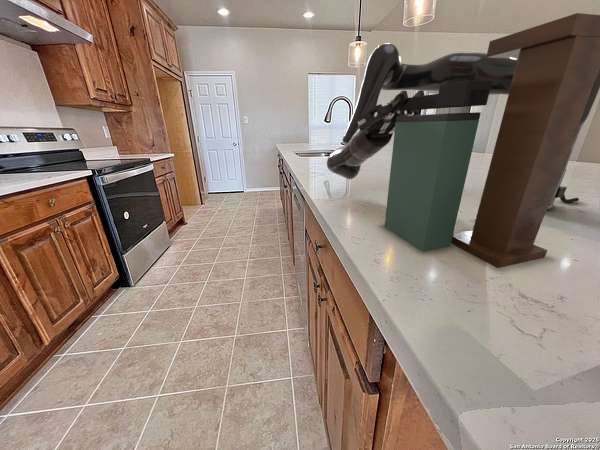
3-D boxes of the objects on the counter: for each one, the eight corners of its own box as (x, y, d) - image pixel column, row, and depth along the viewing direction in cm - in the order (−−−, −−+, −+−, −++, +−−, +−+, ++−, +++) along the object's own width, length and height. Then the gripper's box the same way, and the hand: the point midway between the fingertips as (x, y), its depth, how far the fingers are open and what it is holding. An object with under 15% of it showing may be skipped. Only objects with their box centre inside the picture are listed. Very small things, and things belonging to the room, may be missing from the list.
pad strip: (404, 110, 50) (406, 94, 49) (486, 105, 34) (492, 80, 33) (387, 111, 49) (388, 94, 48) (463, 105, 33) (469, 80, 32)
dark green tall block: (407, 223, 55) (423, 115, 47) (450, 246, 45) (481, 112, 36) (384, 226, 54) (396, 116, 45) (422, 251, 43) (447, 113, 35)
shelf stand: (482, 231, 50) (535, 43, 37) (544, 257, 40) (644, 14, 28) (442, 239, 48) (484, 40, 35) (497, 268, 38) (583, 8, 25)
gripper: (340, 127, 60) (376, 75, 43) (390, 124, 63) (442, 76, 46) (345, 156, 59) (384, 115, 42) (396, 152, 62) (451, 113, 45)
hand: (414, 95), depth 44 cm, fingers closed on pad strip, 3 cm apart
